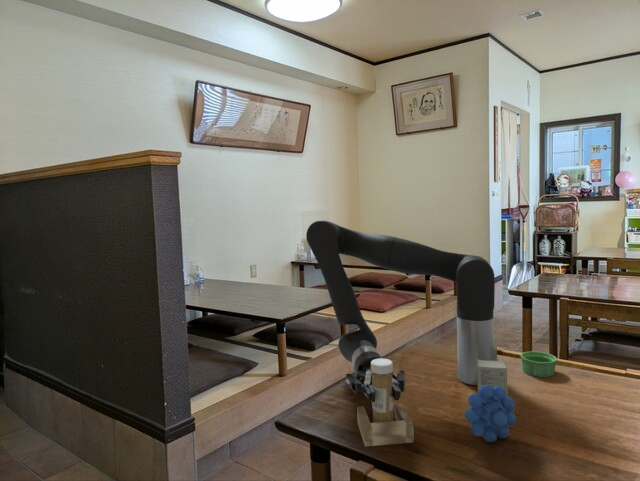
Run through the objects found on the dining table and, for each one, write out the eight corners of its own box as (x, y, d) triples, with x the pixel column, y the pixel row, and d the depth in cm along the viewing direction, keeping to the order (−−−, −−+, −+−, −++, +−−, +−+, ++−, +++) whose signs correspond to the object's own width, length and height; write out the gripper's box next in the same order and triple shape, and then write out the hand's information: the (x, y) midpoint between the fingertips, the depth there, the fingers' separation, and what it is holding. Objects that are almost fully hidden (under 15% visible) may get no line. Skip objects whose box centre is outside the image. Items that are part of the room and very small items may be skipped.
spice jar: (398, 423, 94) (397, 362, 92) (381, 430, 91) (380, 367, 90) (383, 415, 97) (382, 355, 96) (367, 421, 95) (366, 360, 94)
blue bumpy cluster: (480, 459, 84) (479, 397, 83) (459, 441, 90) (458, 383, 89) (530, 446, 87) (530, 387, 86) (506, 430, 93) (506, 375, 92)
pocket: (401, 420, 99) (401, 403, 99) (413, 442, 90) (413, 423, 90) (357, 424, 98) (357, 407, 98) (365, 446, 89) (364, 427, 89)
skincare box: (507, 412, 101) (506, 360, 100) (508, 422, 97) (508, 368, 96) (477, 409, 103) (477, 358, 102) (477, 418, 99) (477, 365, 98)
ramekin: (521, 376, 121) (521, 360, 121) (520, 364, 130) (520, 349, 129) (558, 380, 118) (558, 363, 117) (554, 367, 126) (554, 352, 126)
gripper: (339, 352, 107) (350, 381, 90) (397, 348, 108) (419, 377, 91) (340, 382, 108) (351, 417, 91) (398, 378, 109) (419, 412, 92)
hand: (385, 396), depth 91 cm, fingers closed on spice jar, 4 cm apart
